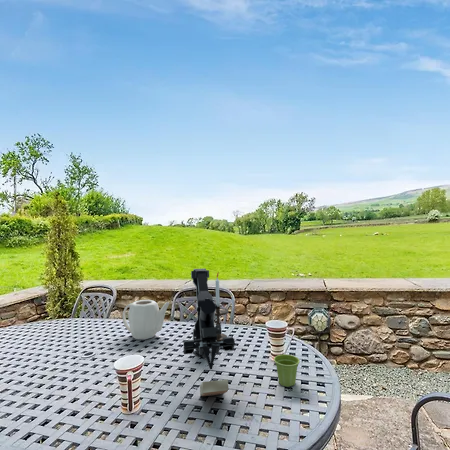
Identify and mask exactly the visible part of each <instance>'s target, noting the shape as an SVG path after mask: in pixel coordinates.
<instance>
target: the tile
mask: <svg viewBox="0 0 450 450" xmlns="http://www.w3.org/2000/svg"><path fill="white" fill-rule="evenodd" d="M229 390H230V389H229V379H219V380H210V381H209V380H208V381H202V382H201V383H200V385H199V395H200V396H201V397H208V396H219V395H224V394H225V393H228V391H229Z"/></svg>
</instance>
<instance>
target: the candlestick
mask: <svg viewBox="0 0 450 450" xmlns="http://www.w3.org/2000/svg"><path fill="white" fill-rule="evenodd" d="M215 279H216V280H215V303H216V305H217V308H216V311H215V317H216V323H215V326H216V325H221V326H222V324H221V322H220V316H221V317H222V316H226V315H228V314H229V309H227V308H222V304H220V303H221V302H220V280H219V272H218V271H217V275H216V278H215ZM224 337H228V335H227V334H224V333H221V334H217V340H216V342H219V341H223V338H224Z"/></svg>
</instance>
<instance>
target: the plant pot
mask: <svg viewBox="0 0 450 450" xmlns="http://www.w3.org/2000/svg"><path fill="white" fill-rule="evenodd" d="M273 361H274V363H275V366H276V372H277V379H278V380H277V381H278V383H279V384H280V385H281V386H282V387H287V388H289V387H291V386H293V387H294V386H295V385H296V381H297V371H298V367H299V364H300V362H301V361H300V359H299V358H298V357H297V356H295V355H292V354H285V353H284V354H279V355H276V356H275V357H274V358H273Z"/></svg>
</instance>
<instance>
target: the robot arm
mask: <svg viewBox="0 0 450 450" xmlns="http://www.w3.org/2000/svg"><path fill="white" fill-rule="evenodd" d="M190 277H191V278H190V279H192V284H193V285H194V287H195V288H196V289H195V292H196V293H195V294H196V301H195V311H196V314H197V319H196V321H195V324H194V326H193V329H192V339H189V340H184V341H183V354H184V355H191V354H192V355H196V356H198V357H200V358H203V359H204V360H205V362H206V365H207V367H208V369H209V370H213V368H214V361H215V358H216V355H217V354H219V353H220V348H222V350H223V351H225V352H227V351H229V352H230V351H234V350H235V349H234V347H235V345H236V340H235V338H234V337H233V336H227V337H224V338H223V341H216V340H217V334H223V333H222V331H223V330H222V324H221V325H216V324H215V317H216V316H215V311H216V308H217V305H216V301H215V300H214V299H213V295H212V294H211V293H210V291H209V287H208V286H209V284H208V279H209V278H210V270H208V269H206V268H205V267H204V268H193V270H191V272H190Z"/></svg>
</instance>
